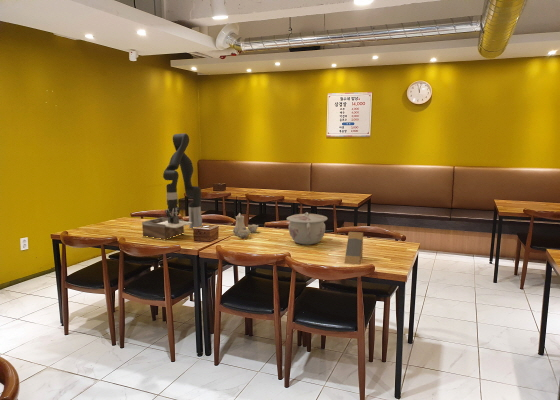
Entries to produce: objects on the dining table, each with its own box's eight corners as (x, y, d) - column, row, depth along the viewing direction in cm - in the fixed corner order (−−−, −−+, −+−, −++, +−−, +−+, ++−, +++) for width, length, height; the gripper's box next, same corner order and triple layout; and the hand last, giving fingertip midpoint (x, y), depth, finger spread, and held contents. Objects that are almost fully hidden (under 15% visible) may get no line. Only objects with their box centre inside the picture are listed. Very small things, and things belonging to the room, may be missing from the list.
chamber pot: (302, 235, 296) (302, 207, 292) (335, 241, 278) (335, 211, 275) (277, 243, 274) (277, 213, 271) (311, 250, 257) (311, 217, 254)
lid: (171, 221, 307) (171, 213, 306) (192, 223, 297) (191, 215, 296) (154, 225, 292) (154, 217, 292) (175, 228, 282) (175, 219, 282)
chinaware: (248, 242, 286) (250, 218, 283) (226, 238, 289) (227, 215, 286) (259, 233, 313) (261, 211, 310) (238, 230, 316) (240, 208, 313)
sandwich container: (343, 263, 230) (344, 237, 227) (348, 256, 244) (348, 231, 242) (359, 265, 227) (359, 238, 225) (362, 257, 241) (363, 232, 239)
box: (162, 231, 315) (161, 217, 313) (184, 234, 304) (183, 219, 302) (143, 236, 298) (142, 221, 297) (165, 240, 288) (164, 224, 286)
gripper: (175, 196, 299) (176, 220, 302) (160, 199, 288) (162, 223, 290) (183, 197, 296) (184, 220, 298) (168, 200, 284) (170, 224, 286)
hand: (173, 222), depth 294 cm, fingers closed on lid, 3 cm apart
